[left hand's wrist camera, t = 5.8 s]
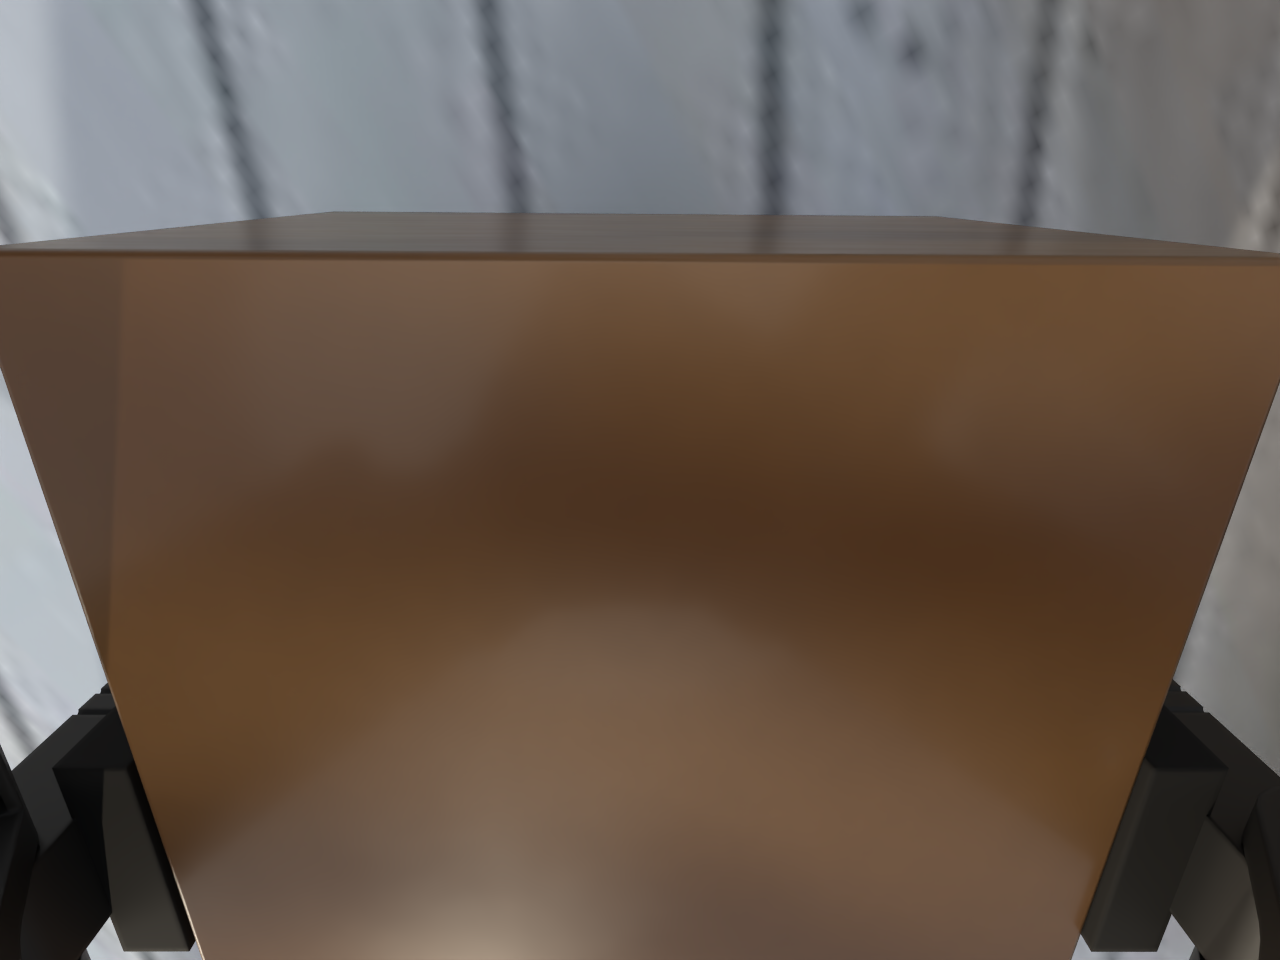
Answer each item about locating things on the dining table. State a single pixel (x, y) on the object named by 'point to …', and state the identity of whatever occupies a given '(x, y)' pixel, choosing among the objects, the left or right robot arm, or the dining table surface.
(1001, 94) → the dining table surface
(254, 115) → the dining table surface
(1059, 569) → the thick board
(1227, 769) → the left robot arm
